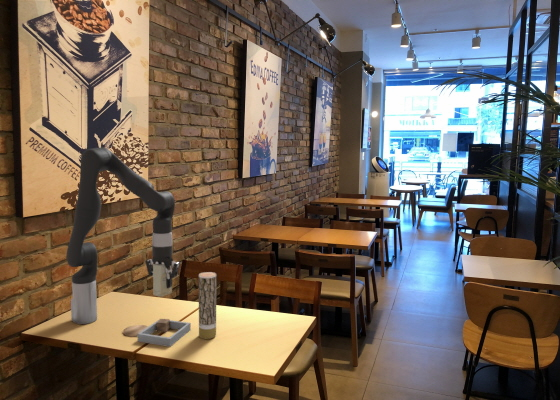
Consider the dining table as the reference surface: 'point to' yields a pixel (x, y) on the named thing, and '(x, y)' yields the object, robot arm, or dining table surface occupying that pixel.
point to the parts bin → (160, 340)
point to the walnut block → (163, 325)
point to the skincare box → (160, 281)
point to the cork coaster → (134, 330)
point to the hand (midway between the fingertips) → (162, 286)
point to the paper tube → (207, 305)
